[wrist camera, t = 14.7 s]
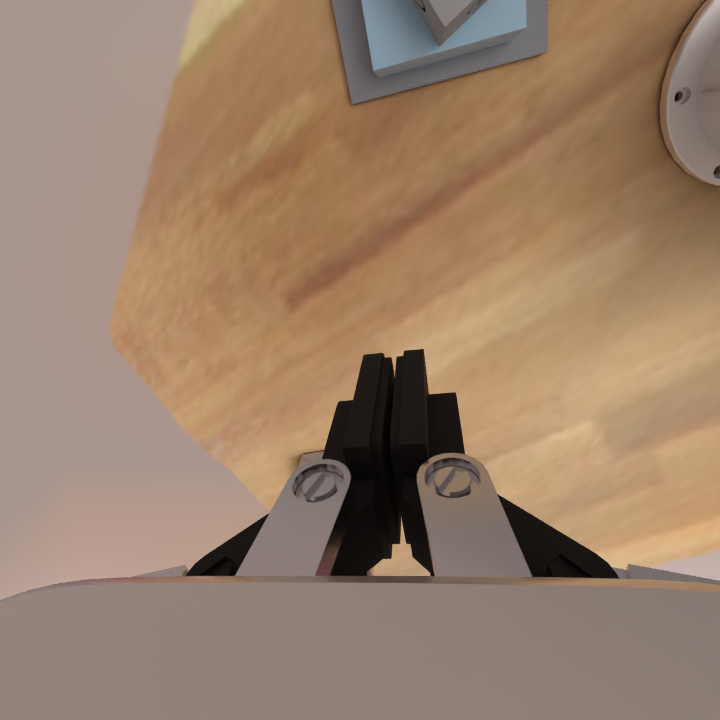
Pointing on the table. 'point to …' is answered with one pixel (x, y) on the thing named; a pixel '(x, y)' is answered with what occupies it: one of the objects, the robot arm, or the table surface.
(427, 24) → the dice cube
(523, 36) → the base
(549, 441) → the table surface
